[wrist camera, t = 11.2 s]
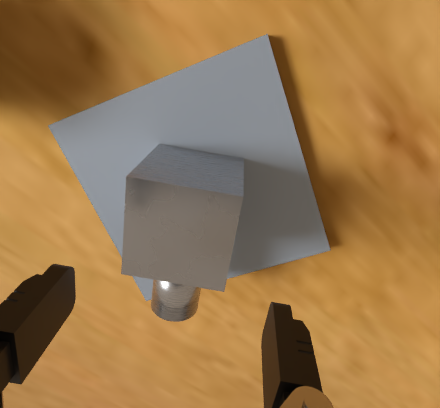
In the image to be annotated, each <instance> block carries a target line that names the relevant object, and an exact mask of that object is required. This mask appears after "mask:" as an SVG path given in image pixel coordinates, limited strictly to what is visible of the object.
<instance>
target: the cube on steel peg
mask: <svg viewBox="0 0 440 408" xmlns="http://www.w3.org/2000/svg"><path fill="white" fill-rule="evenodd" d="M243 187H244V158H240V157H234V156H228V155H222V154H217V153H211V152H205V151H199V150H193V149H188V148H182V147H176V146H170V145H165V144H158V145H157V146H156V147H155V148H154V149H153V150H152V151H151V152H150V153H149V154H148V155H147V156H146V157H145V158H144V159H143V160H142V161H141V162H140V163H139V164H138V165H137V166H136V167H135V168H134V169H133V170H132V171H131V172H130V173H129V174H128V175H127V176H126V189H125V209H124V230H123V251H122V271H121V274H124V275H130V276H136V277H141V278H147V279H153V289H152V299H151V308H152V310H153V312H154V313H155V314H156V315H157V316H158V317H160V318H162V319H164V320H168V321H183V320H187V319H189V318H191V317H192V316H193V315H194V314H195V313H196V311H197V308H198V302H199V296H200V290H201V288H205V289H211V290H217V291H222V292H224V290H225V285H226V280H227V275H228V270H229V265H230V260H231V256H232V251H233V246H234V241H235V236H236V231H237V226H238V221H239V216H240V211H241V206H242V201H243Z"/></svg>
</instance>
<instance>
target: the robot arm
mask: <svg viewBox="0 0 440 408" xmlns="http://www.w3.org/2000/svg"><path fill="white" fill-rule="evenodd" d="M74 303H75V271H74V268H73V267H69V266H64V265H58V264H53V265H51V266H50V267H49V268H48V269H47V270H46V271H45V272H44V274H43V275H38V274H36V275H34V276H32V277H31V278H29V279H27V280H25V281H23V282H22V283H21V284H20V285H19V286H18V287H17V288H16V289H15V290H14V293H13V292H12V293H11V294H10V295H9V296H8V297H7V299H6V300H4V301H3V302H2V303H1V304H0V408H4V401H3V392H2V391H3V390H4V388H5V387H6V386H7V384H8V383H9V382H10V383H16V384H22V383H23V381H24V380H25V378H26V377H27V375H28V374H29V373H30V371H31V370H32V368H33V367H34V365H35V364H36V362H37V361H38V359H39V358H40V357H41V355H42V354H43V352H44V351H45V349H46V348H47V346H48V345H49V344H50V342H51V341H52V339H53V338H54V336H55V335H56V333H57V332H58V331H59V329H60V328H61V326H62V325H63V323H64V322H65V320H66V319H67V317H68V316H69V315H70V313H71V311H72V309H73V307H74ZM261 348H262V372H263V395H264V408H334V407H333V405H332V403H331V401H330V400H329V399H328V398H327V396H326V395H324V394H323V391H322V387H321V382H320V378H319V373H318V368H317V364H316V359H315V355H314V350H313V345H312V341H311V336H310V332H309V330H308V329H307V327H306V326H305V324H304V323H303V321H301V320H295V319H293V317H292V311H291V306H290V305H286V304H280V303H275V302H271V304H270V307H269V311H268V315H267V318H266V322H265V326H264V329H263V334H262V344H261Z"/></svg>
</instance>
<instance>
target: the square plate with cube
mask: <svg viewBox="0 0 440 408" xmlns="http://www.w3.org/2000/svg"><path fill="white" fill-rule="evenodd" d="M48 126H49V128H50V130H51V132H52V134H53V135H54V137H55V139H56V141H57V143H58V144H59V146H60V148H61V150H62V151H63V153H64V155H65V157H66V159H67V160H68V162H69V164H70V166H71V168H72V169H73V171H74V173H75V175H76V176H77V178H78V180H79V182H80V184H81V185H82V187H83V189H84V191H85V193H86V194H87V196H88V198H89V200H90V201H91V203H92V205H93V207H94V209H95V210H96V212H97V214H98V216H99V218H100V219H101V221H102V223H103V225H104V226H105V228H106V230H107V232H108V234H109V235H110V237H111V239H112V241H113V242H114V244H115V246H116V248H117V250H118V251H119V253H120V255H121V257H122V251H123V230H124V209H125V189H126V176H127V175H128V174H129V173H130V172H131V171H132V170H133V169H134V168H135V167H136V166H137V165H138V164H139V163H140V162H141V161H142V160H143V159H144V158H145V157H146V156H147V155H148V154H149V153H150V152H151V151H152V150H153V149H154V148H155V147H156V146H157V145H158V144H165V145H170V146H176V147H182V148H188V149H193V150H199V151H205V152H211V153H217V154H222V155H228V156H234V157H240V158H244V187H243V201H242V206H241V211H240V216H239V221H238V226H237V231H236V236H235V241H234V246H233V251H232V256H231V260H230V265H229V270H228V275H227V279H228V278H232V277H235V276H239V275H243V274H246V273H250V272H253V271H257V270H261V269H264V268H268V267H272V266H275V265H279V264H283V263H286V262H290V261H294V260H297V259H301V258H304V257H308V256H312V255H315V254H319V253H323V252H326V251H330V247H329V243H328V240H327V236H326V233H325V229H324V226H323V223H322V219H321V216H320V212H319V209H318V205H317V202H316V199H315V195H314V192H313V188H312V185H311V182H310V178H309V175H308V171H307V168H306V164H305V161H304V158H303V154H302V151H301V147H300V144H299V141H298V137H297V134H296V130H295V127H294V123H293V120H292V117H291V113H290V110H289V106H288V103H287V99H286V96H285V93H284V89H283V86H282V82H281V79H280V76H279V72H278V69H277V65H276V62H275V58H274V55H273V52H272V48H271V45H270V41H269V38H268V34H266V35H264V36H261V37H259V38H256V39H254V40H252V41H249V42H247V43H245V44H242V45H240V46H237V47H235V48H233V49H230V50H228V51H225V52H223V53H221V54H218V55H216V56H213V57H211V58H209V59H206V60H204V61H201V62H199V63H197V64H194V65H192V66H189V67H187V68H185V69H182V70H180V71H177V72H175V73H173V74H170V75H168V76H165V77H163V78H161V79H158V80H156V81H154V82H151V83H149V84H146V85H144V86H142V87H139V88H137V89H134V90H132V91H130V92H127V93H125V94H122V95H120V96H118V97H115V98H113V99H110V100H108V101H106V102H103V103H101V104H98V105H96V106H94V107H91V108H89V109H86V110H84V111H82V112H79V113H77V114H75V115H72V116H70V117H67V118H65V119H63V120H60V121H58V122H55V123H53V124H51V125H48ZM133 278H134V280H135V282H136V284H137V285H138V287H139V289H140V291H141V292H142V294H143V296H144V298H145V300H146V301H148V300H151V299H152V289H153V279H147V278H141V277H136V276H133Z"/></svg>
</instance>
